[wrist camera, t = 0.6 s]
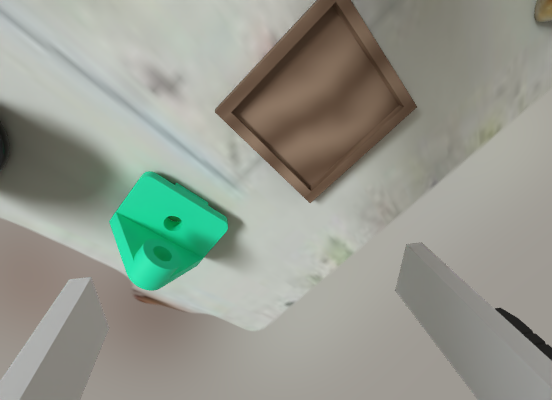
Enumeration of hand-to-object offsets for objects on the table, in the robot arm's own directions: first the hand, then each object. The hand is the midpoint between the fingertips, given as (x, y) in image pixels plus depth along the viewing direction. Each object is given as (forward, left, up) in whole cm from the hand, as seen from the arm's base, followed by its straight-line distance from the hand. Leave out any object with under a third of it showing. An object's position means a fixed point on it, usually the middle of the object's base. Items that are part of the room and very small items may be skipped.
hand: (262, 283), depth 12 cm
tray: (+4, +10, -25) cm, 27 cm away
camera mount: (+1, -13, -26) cm, 29 cm away
